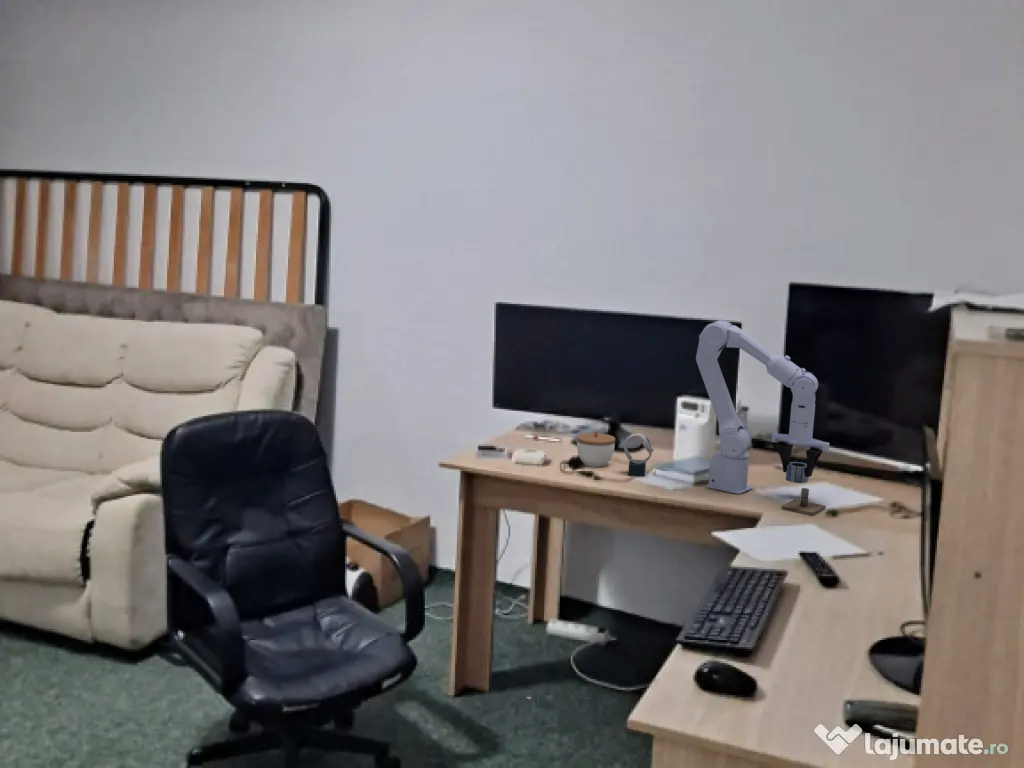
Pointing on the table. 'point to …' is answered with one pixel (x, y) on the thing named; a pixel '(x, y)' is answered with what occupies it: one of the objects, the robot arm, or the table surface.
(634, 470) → the watch
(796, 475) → the collar
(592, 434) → the lidded jar
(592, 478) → the table surface
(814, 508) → the shaft base
